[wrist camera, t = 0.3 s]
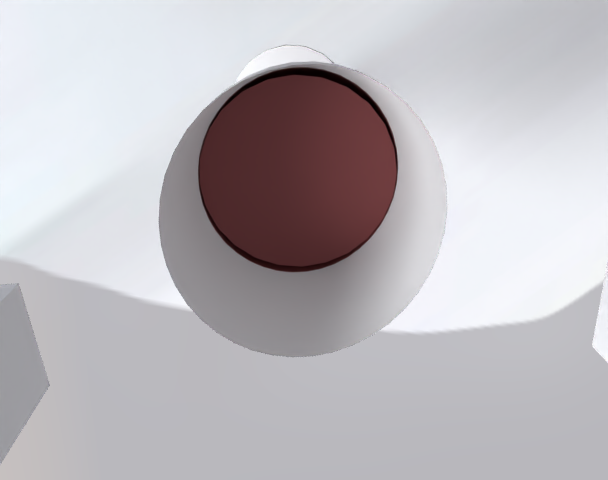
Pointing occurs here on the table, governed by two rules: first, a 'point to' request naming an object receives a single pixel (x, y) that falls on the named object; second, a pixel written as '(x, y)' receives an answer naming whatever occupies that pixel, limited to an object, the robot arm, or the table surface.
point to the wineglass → (302, 206)
